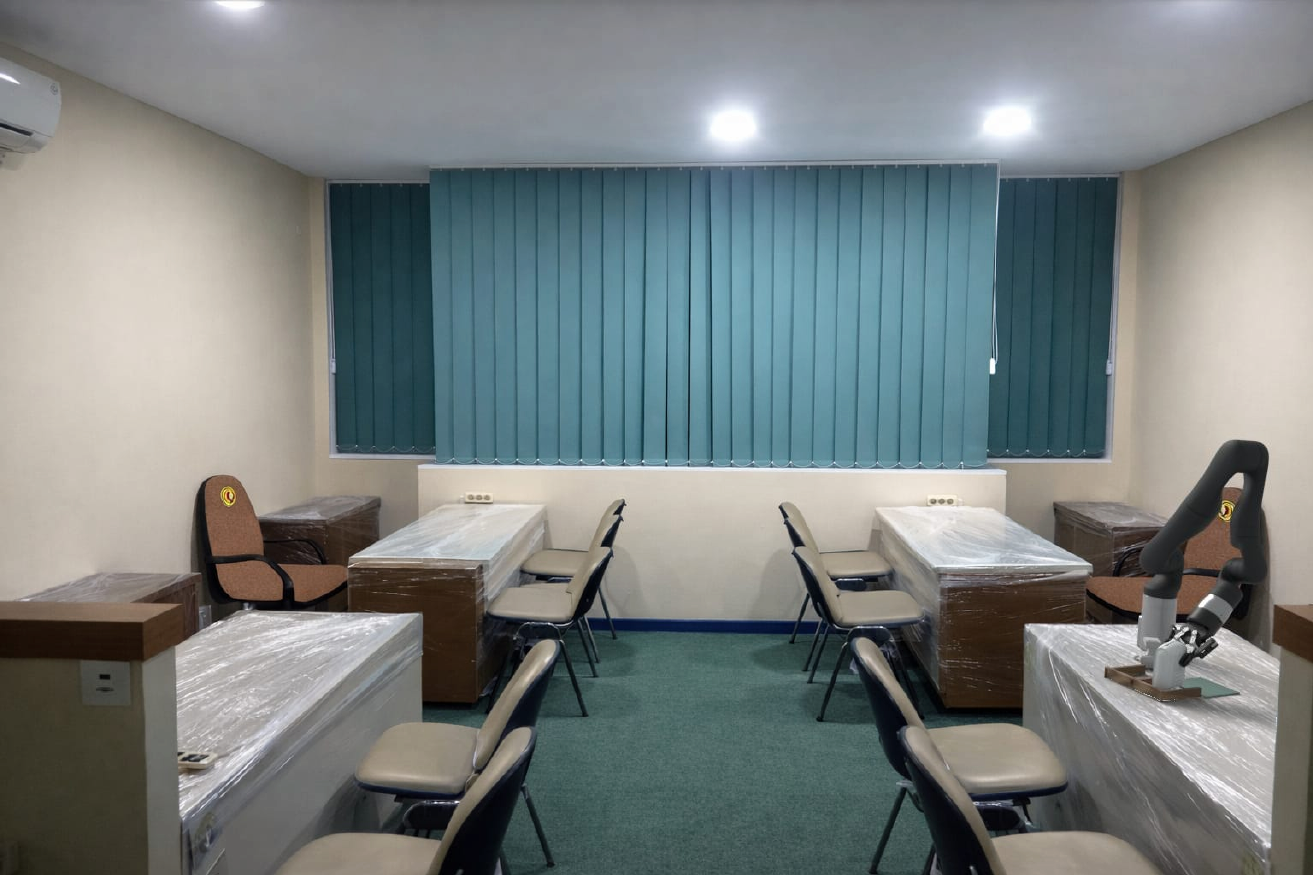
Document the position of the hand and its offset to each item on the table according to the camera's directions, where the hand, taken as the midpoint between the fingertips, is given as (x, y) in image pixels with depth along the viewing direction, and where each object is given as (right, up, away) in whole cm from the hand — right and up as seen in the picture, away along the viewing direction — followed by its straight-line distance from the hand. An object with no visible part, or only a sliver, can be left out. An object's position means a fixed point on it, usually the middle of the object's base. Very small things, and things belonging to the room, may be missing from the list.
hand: (1172, 661), depth 240 cm
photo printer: (-1, -7, 0) cm, 7 cm away
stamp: (+5, -7, +20) cm, 22 cm away
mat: (+11, -8, +4) cm, 14 cm away
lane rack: (-3, -8, +4) cm, 10 cm away
